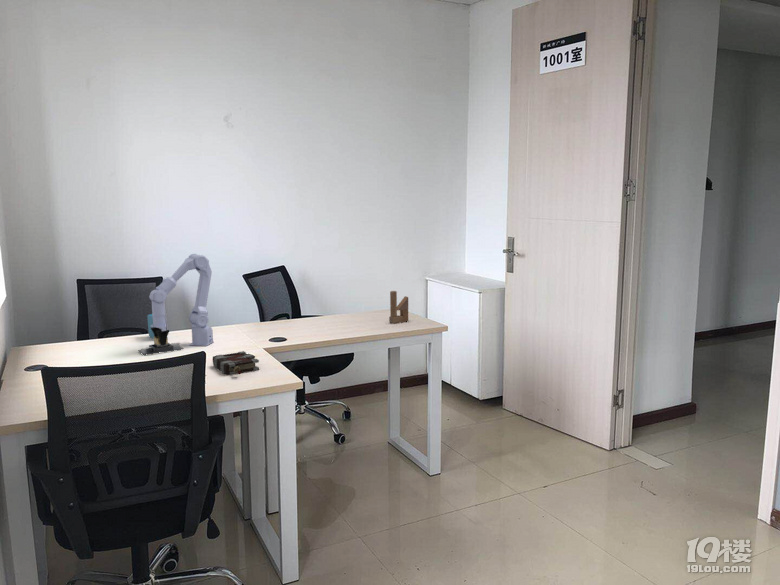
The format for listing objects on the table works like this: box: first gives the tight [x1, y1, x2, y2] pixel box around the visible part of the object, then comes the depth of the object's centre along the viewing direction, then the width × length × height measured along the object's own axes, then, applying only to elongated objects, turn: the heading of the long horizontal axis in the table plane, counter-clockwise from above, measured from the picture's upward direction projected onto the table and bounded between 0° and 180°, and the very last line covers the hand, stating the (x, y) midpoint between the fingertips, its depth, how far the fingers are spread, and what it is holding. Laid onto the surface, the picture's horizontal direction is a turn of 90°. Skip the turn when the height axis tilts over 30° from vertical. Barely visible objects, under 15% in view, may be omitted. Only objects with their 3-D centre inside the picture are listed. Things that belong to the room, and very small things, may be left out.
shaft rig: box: [137, 342, 184, 356], centre depth 304 cm, size 18×10×2 cm, turn 125°
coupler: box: [153, 336, 169, 348], centre depth 303 cm, size 5×5×6 cm
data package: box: [146, 313, 155, 340], centre depth 328 cm, size 12×4×12 cm, turn 40°
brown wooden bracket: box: [388, 290, 409, 324], centre depth 360 cm, size 4×11×18 cm, turn 122°
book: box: [212, 350, 260, 376], centre depth 270 cm, size 15×25×5 cm, turn 33°
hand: (160, 343), depth 303 cm, fingers open, 7 cm apart
